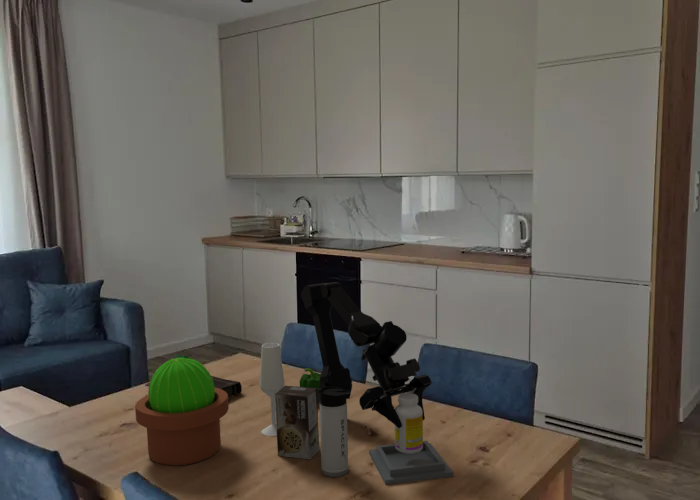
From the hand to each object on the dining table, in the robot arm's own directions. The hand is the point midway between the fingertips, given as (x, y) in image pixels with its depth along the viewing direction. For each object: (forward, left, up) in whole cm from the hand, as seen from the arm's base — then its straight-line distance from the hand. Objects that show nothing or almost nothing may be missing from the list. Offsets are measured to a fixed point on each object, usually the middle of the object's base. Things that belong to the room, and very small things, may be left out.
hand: (412, 423), depth 146 cm
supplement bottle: (0, +1, -7) cm, 7 cm away
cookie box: (-25, +14, -11) cm, 31 cm away
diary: (-54, +64, -11) cm, 84 cm away
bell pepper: (-16, +50, -11) cm, 54 cm away
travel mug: (-18, +2, -11) cm, 21 cm away
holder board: (0, +1, -11) cm, 11 cm away
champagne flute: (-30, +29, -11) cm, 43 cm away
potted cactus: (-53, +22, -11) cm, 59 cm away
